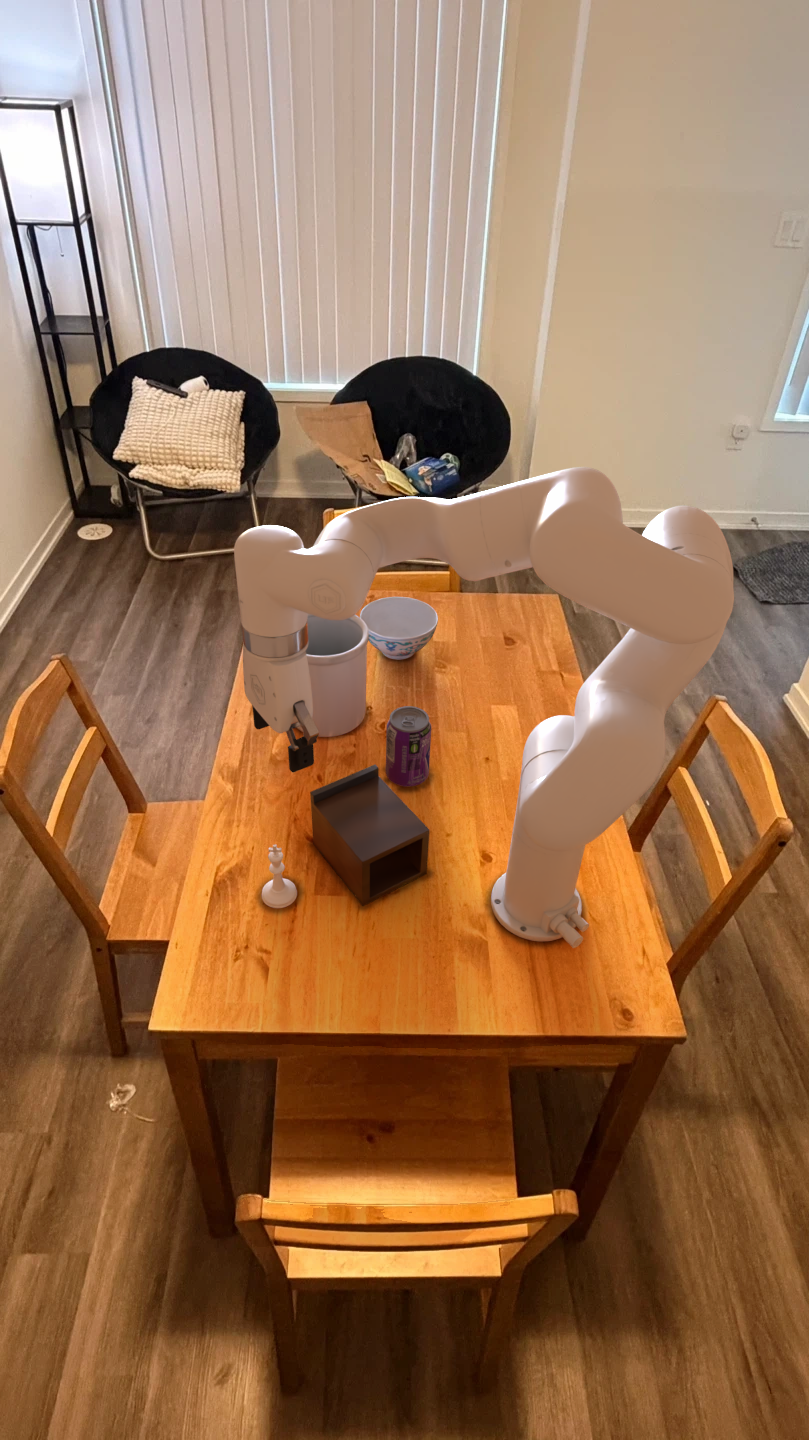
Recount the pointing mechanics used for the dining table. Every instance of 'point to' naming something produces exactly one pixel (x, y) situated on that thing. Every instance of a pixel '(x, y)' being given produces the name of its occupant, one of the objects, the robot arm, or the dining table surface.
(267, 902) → the chess piece
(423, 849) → the open box
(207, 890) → the dining table surface
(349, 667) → the utensil holder
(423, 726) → the beverage can
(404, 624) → the chinaware
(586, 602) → the robot arm
